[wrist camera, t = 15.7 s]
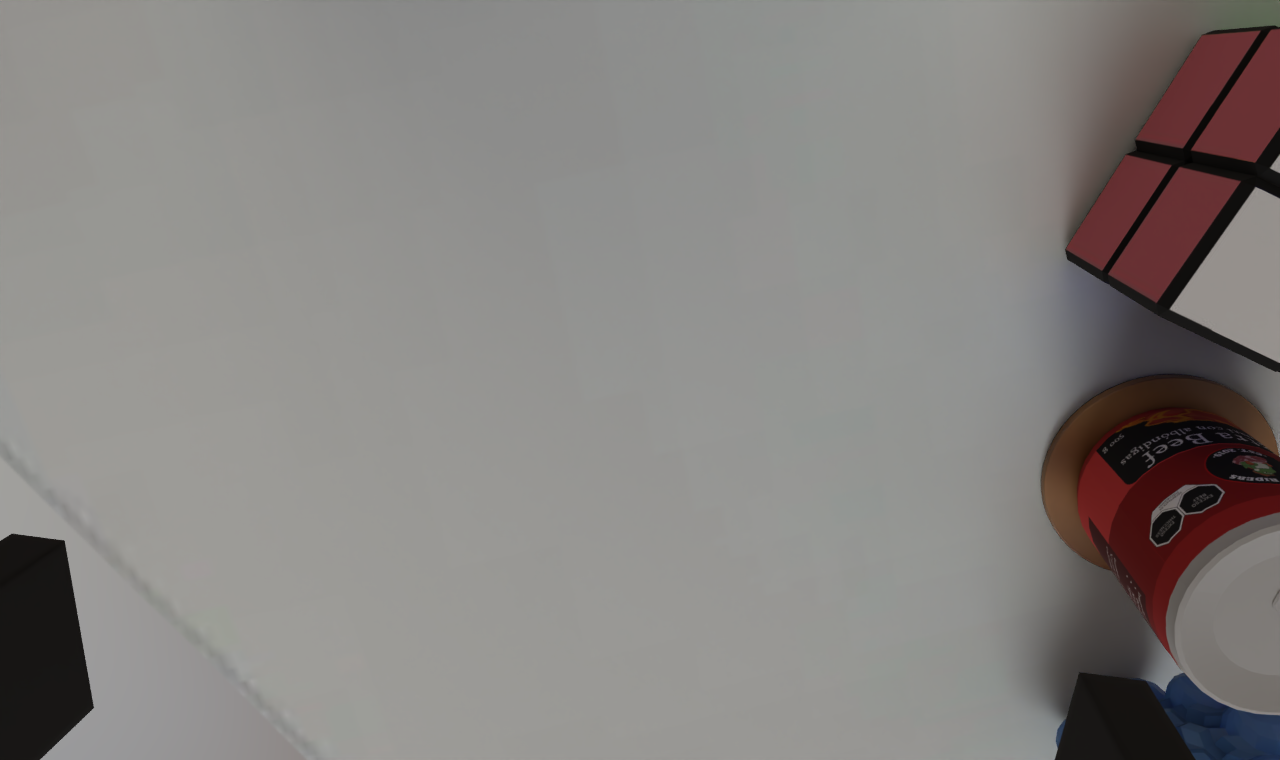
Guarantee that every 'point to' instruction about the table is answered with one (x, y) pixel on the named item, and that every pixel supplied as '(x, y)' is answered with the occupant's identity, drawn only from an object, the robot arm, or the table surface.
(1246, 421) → the coaster
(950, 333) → the table surface
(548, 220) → the table surface
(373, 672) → the table surface
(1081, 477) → the canned food
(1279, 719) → the grapes
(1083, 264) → the puzzle cube
